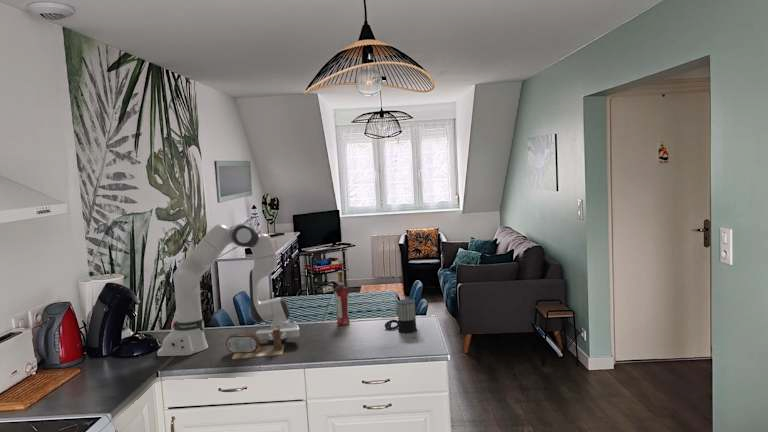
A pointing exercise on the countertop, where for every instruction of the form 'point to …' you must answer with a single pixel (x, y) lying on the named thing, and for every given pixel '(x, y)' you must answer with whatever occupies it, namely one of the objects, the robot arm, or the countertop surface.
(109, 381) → the countertop surface
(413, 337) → the countertop surface
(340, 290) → the liquor
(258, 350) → the light wood stand
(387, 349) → the countertop surface
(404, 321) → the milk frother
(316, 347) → the countertop surface
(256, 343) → the tin
